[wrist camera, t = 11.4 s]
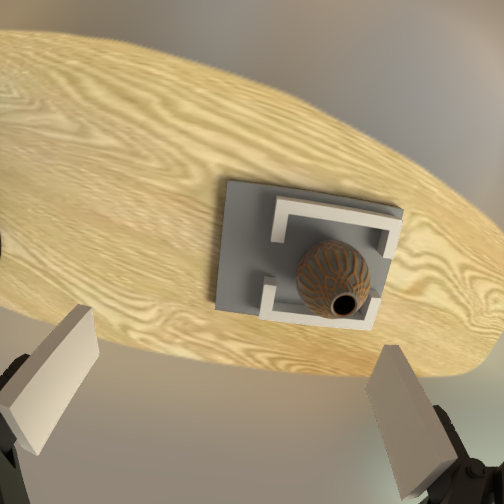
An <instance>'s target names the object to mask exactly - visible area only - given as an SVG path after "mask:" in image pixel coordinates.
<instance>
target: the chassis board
mask: <svg viewBox="0 0 504 504" xmlns="http://www.w3.org/2000/svg"><path fill="white" fill-rule="evenodd" d="M403 211H404V210H403V209H401V208H400V207H395V206H390V205H385V204H381V203H376V202H370V201H365V200H360V199H355V198H349V197H344V196H338V195H333V194H327V193H321V192H315V191H309V190H302V189H296V188H289V187H282V186H275V185H268V184H261V183H253V182H246V181H238V180H228V182H227V191H226V200H225V209H224V219H223V228H222V238H221V248H220V259H219V270H218V281H217V292H216V304H215V310H221V311H228V312H234V313H242V314H249V315H256V316H259V319H261V320H269V321H277V322H286V323H295V324H304V325H313V326H323V327H334V328H345V329H357V330H370V331H371V329H372V326H373V323H374V321H375V318H376V315H377V312H378V309H379V306H380V303H381V299H382V298H381V294H382V291H383V288H384V285H385V281H386V278H387V274H388V271H389V267H390V264H391V260H392V259H394V255H395V251H396V247H397V243H398V240H399V235H400V231H401V227H402V223H403V220H402V215H403ZM325 240H339V241H343V242H345V243H348V244H350V245H351V246H353V247H354V248H355V249H356V250H358V251H359V253H360V254H361V255H362V256H363V258H364V259H365V261H366V263H367V265H368V268H369V272H370V281H371V282H370V290H369V294H368V296H367V299H366V301H365V302H364V304H363V305H362V306H361V307H360V308H359V309H358V310H357V311H356V312H355V313H354V314H353V315H352V316H350V317H348V318H344V319H327V318H323V317H320V316H318V315H316V314H315V313H313V312H312V311H311V310H309V309H308V308H307V307H306V306H305V304H304V303H303V302H302V300H301V298H300V296H299V294H298V291H297V288H296V279H295V277H296V268H297V265H298V262H299V260H300V258H301V257H302V255H303V254H304V253H305V251H306V250H307V249H308V248H310V247H311V246H312V245H314V244H316V243H318V242H321V241H325Z"/></svg>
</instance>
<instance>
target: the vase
mask: <svg viewBox="0 0 504 504" xmlns="http://www.w3.org/2000/svg"><path fill="white" fill-rule="evenodd" d="M295 279H296V288H297V291H298V294H299V296H300V298H301V300H302V302H303V303H304V304H305V306H306V307H307V308H308V309H309V310H311V311H312V312H313V313H315V314H316V315H318V316H320V317H323V318H327V319H344V318H348V317H350V316H352V315H353V314H354V313H355V312H356V311H357V310H358V309H359V308H360V307H361V306H362V305H363V304H364V302H365V301H366V299H367V296H368V294H369V290H370V282H371V281H370V272H369V268H368V265H367V263H366V261H365V259H364V258H363V256H362V255H361V254H360V253H359V251H358V250H356V249H355V248H354V247H353V246H351V245H350V244H348V243H345V242H343V241H339V240H325V241H321V242H318V243H316V244H314V245H312V246H311V247H310V248H308V249H307V250H306V251H305V253H304V254H303V255H302V257H301V258H300V260H299V262H298V265H297V268H296V277H295Z"/></svg>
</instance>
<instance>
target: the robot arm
mask: <svg viewBox="0 0 504 504" xmlns="http://www.w3.org/2000/svg"><path fill="white" fill-rule="evenodd" d="M0 256H1V237H0ZM98 356H99V349H98V343H97V337H96V331H95V325H94V318H93V311H92V307H89V306H85V305H80V304H78V305H77V306H76V307H75V308H74V309H73V310H72V311H71V312H70V313H69V314H68V315H67V316H66V317H65V318H64V319H63V320H62V321H61V322H60V323H59V325H58V326H57V327H56V328H55V329H54V330H53V331H52V332H51V333H50V334H49V335H48V336H47V338H46V339H45V340H44V341H43V342H42V343H41V344H40V345H39V346H38V348H37V349H36V350H35V351H34V352H33V353H32V354H31V355H28V354H24V355H22V356H20V357H18V358H16V359H15V360H14V361H13V362H12V364H11V365H10V366H9V368H8V369H6V370H5V371H4V373H3V375H1V376H0V504H30V501H29V498H28V495H27V492H26V488H25V485H24V481H23V477H22V474H21V470H20V466H19V461H18V457H17V452H16V449H15V446H14V443H15V441H16V440H18V442H19V443H20V445H21V446H22V448H24V449H25V450H27V451H29V452H31V453H33V454H35V455H37V456H38V455H39V453H40V451H41V449H42V448H43V446H44V444H45V442H46V440H47V439H48V437H49V435H50V434H51V432H52V430H53V428H54V427H55V425H56V423H57V422H58V420H59V418H60V417H61V415H62V413H63V412H64V410H65V408H66V407H67V405H68V403H69V402H70V400H71V399H72V397H73V395H74V394H75V392H76V390H77V389H78V387H79V386H80V384H81V383H82V381H83V379H84V378H85V376H86V375H87V373H88V372H89V370H90V368H91V367H92V365H93V364H94V362H95V361H96V359H97V358H98ZM365 390H366V392H367V395H368V398H369V401H370V404H371V407H372V409H373V412H374V415H375V418H376V421H377V424H378V427H379V430H380V433H381V436H382V439H383V442H384V445H385V448H386V451H387V454H388V457H389V461H390V464H391V467H392V470H393V473H394V476H395V480H396V483H397V486H398V490H399V493H400V497H401V500H402V501H403V500H407V499H412V498H416V497H419V496H420V495H421V494H422V493H423V492H424V491H425V490H426V489H427V492H428V496H427V497H426V498H425V499H424V500H423V501H421V502H420V503H419V504H504V462H503V463H502V464H501V465H500V466H499V467H486V466H485V465H484V464H483V462H482V461H480V460H478V459H475V458H470V457H469V455H468V454H467V451H466V449H465V447H464V445H463V443H462V442H461V439H460V437H459V436H458V434H457V432H456V431H455V428H454V426H453V424H451V420H450V418H449V417H448V415H447V413H446V412H445V411H444V410H443V409H442V408H441V407H440V406H439V405H434V406H432V404H431V403H430V401H429V399H428V397H427V395H426V393H425V392H424V389H423V388H422V386H421V384H420V382H419V380H418V378H417V377H416V375H415V373H414V371H413V370H412V368H411V366H410V364H409V363H408V361H407V359H406V357H405V356H404V354H403V352H402V350H401V349H400V347H399V345H384V347H383V349H382V351H381V354H380V356H379V359H378V361H377V363H376V365H375V368H374V370H373V372H372V374H371V377H370V379H369V381H368V383H367V385H366V388H365Z"/></svg>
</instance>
